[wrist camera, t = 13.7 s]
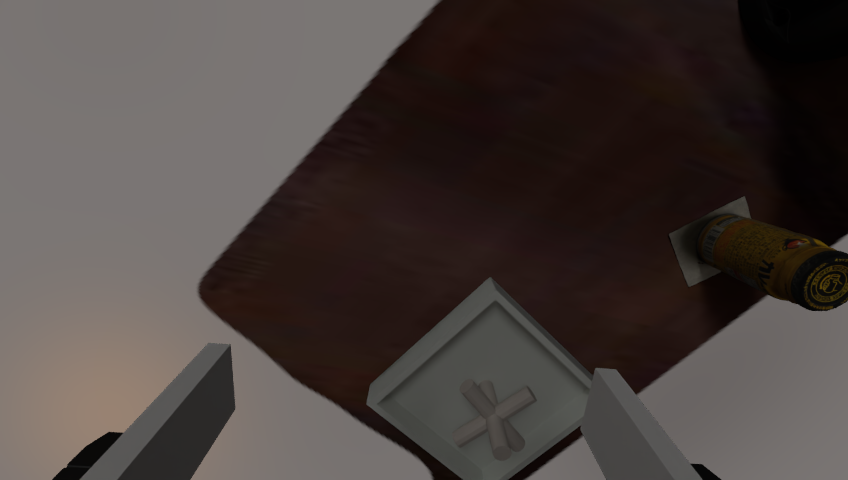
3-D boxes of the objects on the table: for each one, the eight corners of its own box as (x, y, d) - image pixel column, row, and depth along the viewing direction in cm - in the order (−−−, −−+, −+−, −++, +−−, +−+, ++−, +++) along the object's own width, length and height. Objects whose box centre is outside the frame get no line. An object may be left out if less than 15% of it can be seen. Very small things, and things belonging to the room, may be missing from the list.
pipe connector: (542, 392, 48) (573, 460, 38) (476, 432, 50) (489, 507, 40) (496, 335, 45) (516, 392, 36) (428, 380, 47) (430, 446, 38)
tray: (490, 276, 44) (496, 289, 41) (599, 381, 48) (612, 401, 45) (370, 384, 48) (366, 404, 45) (480, 472, 52) (484, 496, 49)
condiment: (760, 251, 43) (882, 299, 32) (687, 286, 45) (780, 344, 33) (742, 195, 42) (865, 224, 30) (666, 233, 43) (757, 274, 31)
